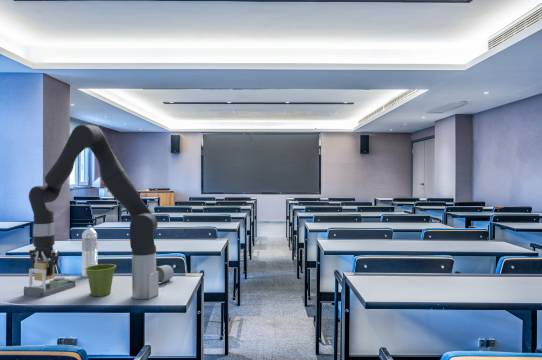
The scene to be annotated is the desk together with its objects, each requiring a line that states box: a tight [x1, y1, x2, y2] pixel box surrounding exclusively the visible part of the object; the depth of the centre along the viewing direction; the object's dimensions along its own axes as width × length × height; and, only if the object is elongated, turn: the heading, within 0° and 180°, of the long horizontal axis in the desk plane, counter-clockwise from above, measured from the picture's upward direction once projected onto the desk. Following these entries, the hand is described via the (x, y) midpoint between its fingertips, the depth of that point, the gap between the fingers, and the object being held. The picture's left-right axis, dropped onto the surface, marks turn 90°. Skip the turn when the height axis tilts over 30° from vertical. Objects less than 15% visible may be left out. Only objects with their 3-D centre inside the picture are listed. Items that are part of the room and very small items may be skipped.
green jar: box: [49, 276, 69, 289], centre depth 160 cm, size 5×5×4 cm
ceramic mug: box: [156, 264, 175, 285], centre depth 172 cm, size 11×8×8 cm
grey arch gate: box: [28, 267, 46, 291], centre depth 151 cm, size 8×2×10 cm, turn 72°
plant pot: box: [85, 263, 117, 297], centre depth 153 cm, size 12×12×11 cm
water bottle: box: [81, 224, 99, 278], centre depth 181 cm, size 7×7×25 cm
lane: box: [23, 279, 76, 299], centre depth 156 cm, size 10×16×4 cm, turn 162°
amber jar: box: [33, 259, 55, 282], centre depth 154 cm, size 5×5×8 cm
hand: (44, 275), depth 154 cm, fingers closed on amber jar, 5 cm apart
